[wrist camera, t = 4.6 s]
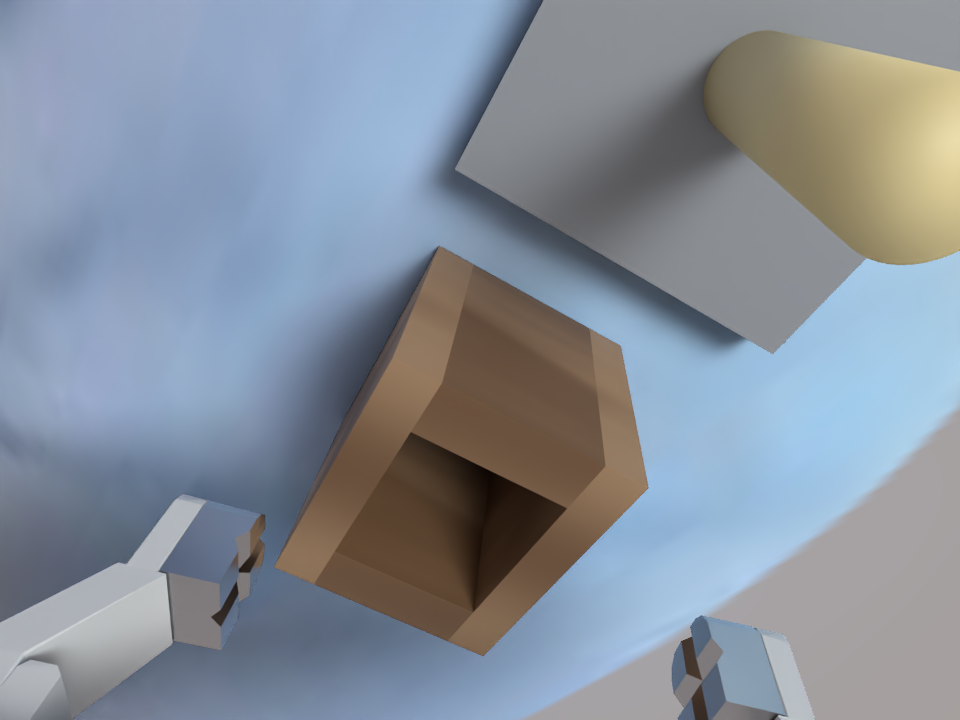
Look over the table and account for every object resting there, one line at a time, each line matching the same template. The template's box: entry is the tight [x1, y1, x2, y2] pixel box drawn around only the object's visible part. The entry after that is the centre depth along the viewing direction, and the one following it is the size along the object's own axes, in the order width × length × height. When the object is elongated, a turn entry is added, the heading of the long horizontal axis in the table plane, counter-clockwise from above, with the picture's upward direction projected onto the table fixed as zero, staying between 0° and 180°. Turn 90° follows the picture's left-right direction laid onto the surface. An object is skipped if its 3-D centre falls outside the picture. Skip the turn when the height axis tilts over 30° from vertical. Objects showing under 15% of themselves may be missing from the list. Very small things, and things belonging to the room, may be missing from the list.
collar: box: [274, 246, 648, 656], centre depth 14 cm, size 6×5×5 cm
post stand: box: [455, 0, 960, 354], centre depth 9 cm, size 8×8×7 cm
